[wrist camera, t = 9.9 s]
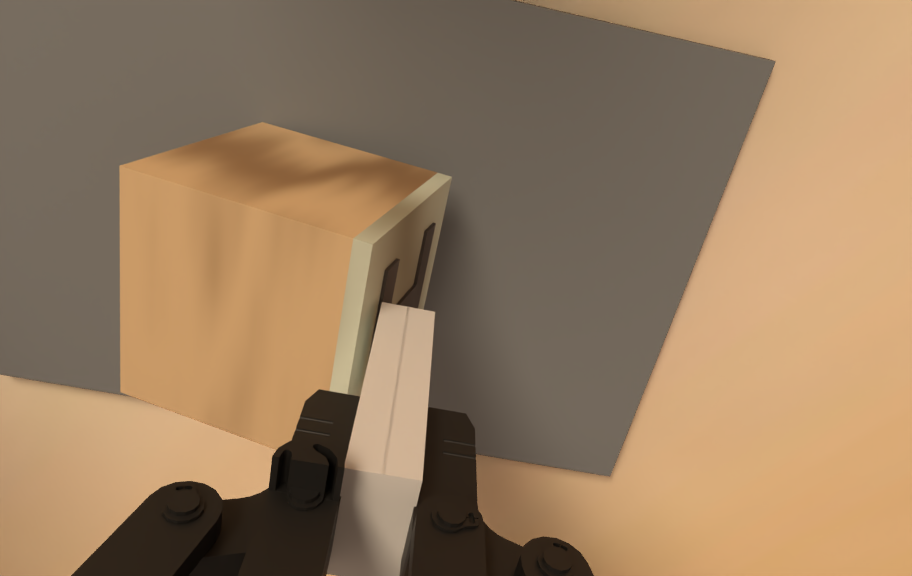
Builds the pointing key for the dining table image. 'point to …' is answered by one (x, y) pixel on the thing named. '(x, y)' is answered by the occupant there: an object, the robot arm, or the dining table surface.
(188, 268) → the wooden block
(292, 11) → the slate mat
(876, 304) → the dining table surface
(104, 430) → the dining table surface
